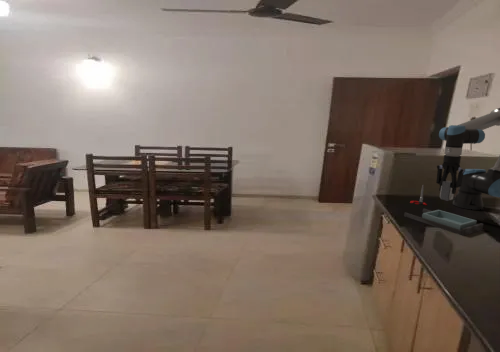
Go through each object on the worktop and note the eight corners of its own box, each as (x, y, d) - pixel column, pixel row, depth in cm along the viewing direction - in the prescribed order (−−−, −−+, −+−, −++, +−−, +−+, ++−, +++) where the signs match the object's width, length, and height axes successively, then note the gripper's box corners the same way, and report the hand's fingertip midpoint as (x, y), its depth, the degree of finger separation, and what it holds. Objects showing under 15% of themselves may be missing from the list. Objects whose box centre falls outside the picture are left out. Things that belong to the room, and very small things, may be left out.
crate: (437, 216, 164) (438, 209, 163) (475, 228, 148) (476, 220, 148) (421, 220, 157) (422, 213, 156) (459, 233, 142) (460, 225, 141)
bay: (423, 213, 172) (424, 206, 171) (481, 231, 147) (483, 223, 147) (403, 218, 164) (404, 210, 163) (462, 238, 139) (463, 229, 138)
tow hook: (408, 202, 196) (413, 205, 187) (410, 182, 194) (416, 184, 185) (422, 203, 195) (428, 206, 186) (424, 182, 193) (431, 185, 184)
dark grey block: (444, 198, 170) (447, 180, 168) (452, 199, 167) (454, 181, 165) (440, 198, 168) (442, 180, 166) (447, 200, 165) (450, 182, 163)
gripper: (432, 153, 168) (426, 195, 173) (466, 157, 153) (459, 203, 158) (440, 152, 171) (434, 193, 176) (474, 156, 157) (467, 201, 162)
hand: (446, 198), depth 167 cm, fingers closed on dark grey block, 4 cm apart
